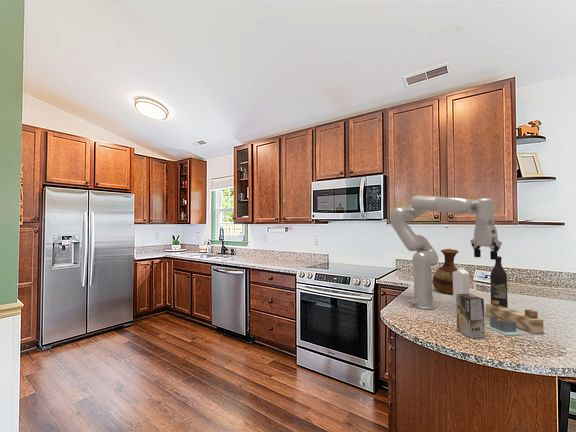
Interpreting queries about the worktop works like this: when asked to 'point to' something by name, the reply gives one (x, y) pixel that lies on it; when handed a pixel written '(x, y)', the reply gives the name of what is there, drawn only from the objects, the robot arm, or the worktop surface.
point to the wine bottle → (499, 284)
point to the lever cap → (503, 324)
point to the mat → (505, 332)
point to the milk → (460, 282)
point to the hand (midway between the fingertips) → (485, 258)
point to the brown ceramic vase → (445, 272)
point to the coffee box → (470, 315)
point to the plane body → (517, 317)
